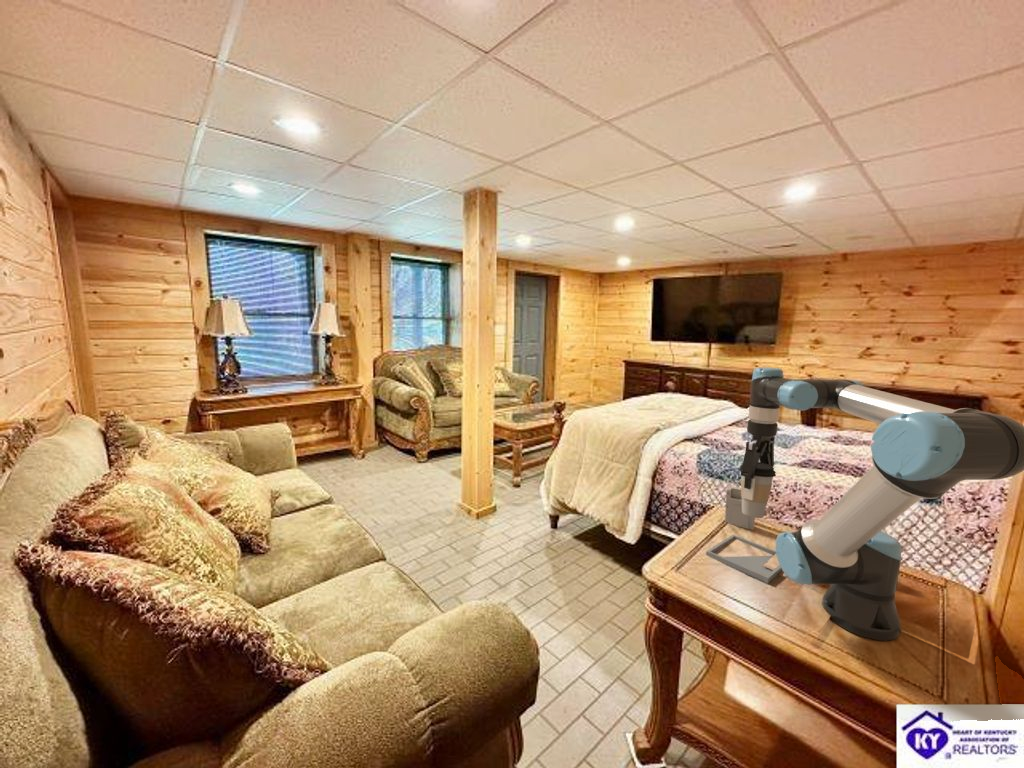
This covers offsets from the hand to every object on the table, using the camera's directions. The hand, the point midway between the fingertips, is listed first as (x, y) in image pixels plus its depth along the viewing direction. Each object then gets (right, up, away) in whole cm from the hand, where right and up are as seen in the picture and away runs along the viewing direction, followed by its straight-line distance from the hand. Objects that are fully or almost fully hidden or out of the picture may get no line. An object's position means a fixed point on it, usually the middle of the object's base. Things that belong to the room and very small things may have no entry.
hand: (755, 494), depth 128 cm
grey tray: (0, -21, +3) cm, 21 cm away
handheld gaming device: (+7, -18, +23) cm, 30 cm away
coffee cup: (0, -6, +1) cm, 6 cm away
